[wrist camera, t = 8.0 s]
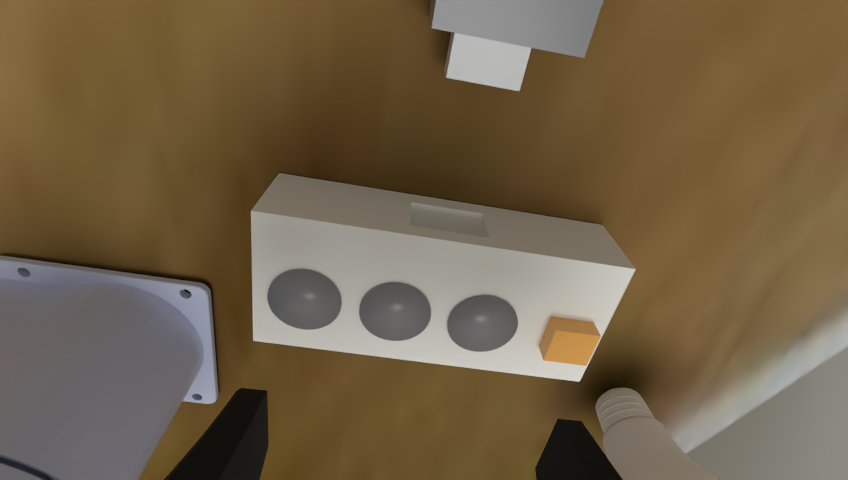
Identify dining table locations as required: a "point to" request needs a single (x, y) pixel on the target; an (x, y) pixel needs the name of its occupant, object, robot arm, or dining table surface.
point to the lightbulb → (641, 441)
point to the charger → (510, 35)
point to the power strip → (430, 279)
